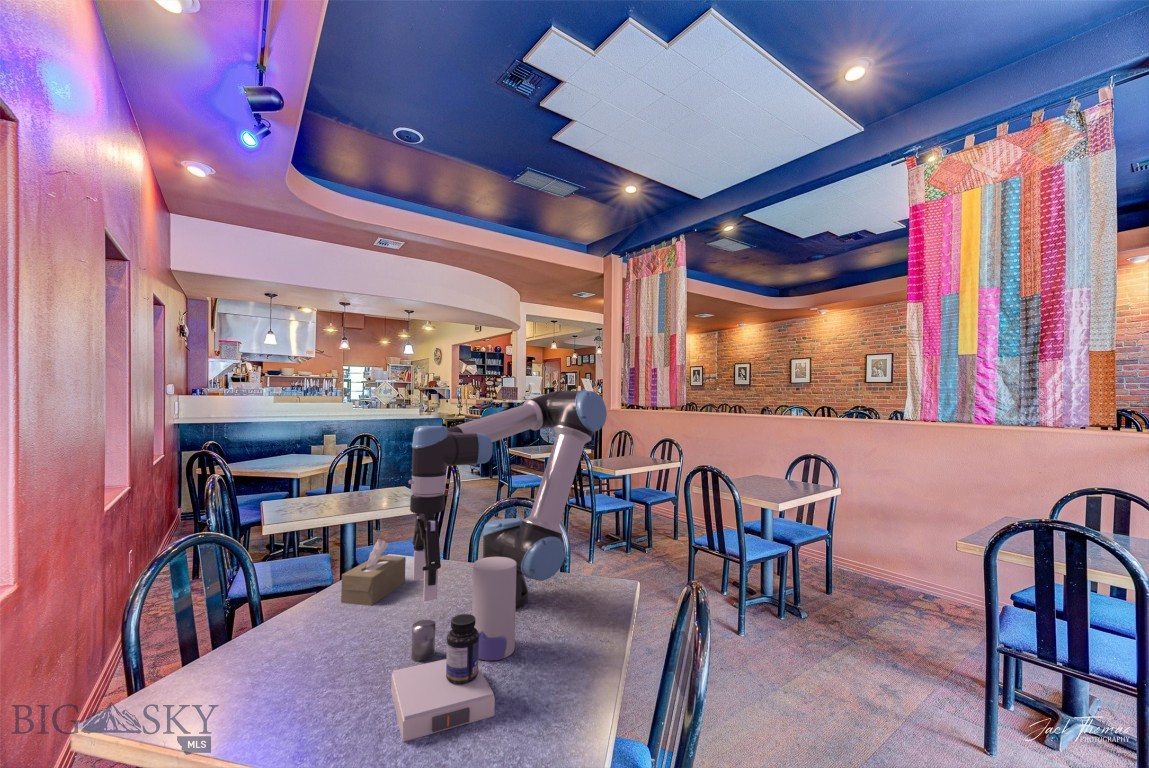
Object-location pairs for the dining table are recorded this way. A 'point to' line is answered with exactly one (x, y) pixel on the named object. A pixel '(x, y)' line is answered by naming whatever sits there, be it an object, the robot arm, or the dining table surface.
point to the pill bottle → (462, 650)
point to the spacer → (423, 640)
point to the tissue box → (373, 577)
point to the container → (494, 606)
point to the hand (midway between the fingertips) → (424, 588)
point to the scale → (437, 700)
